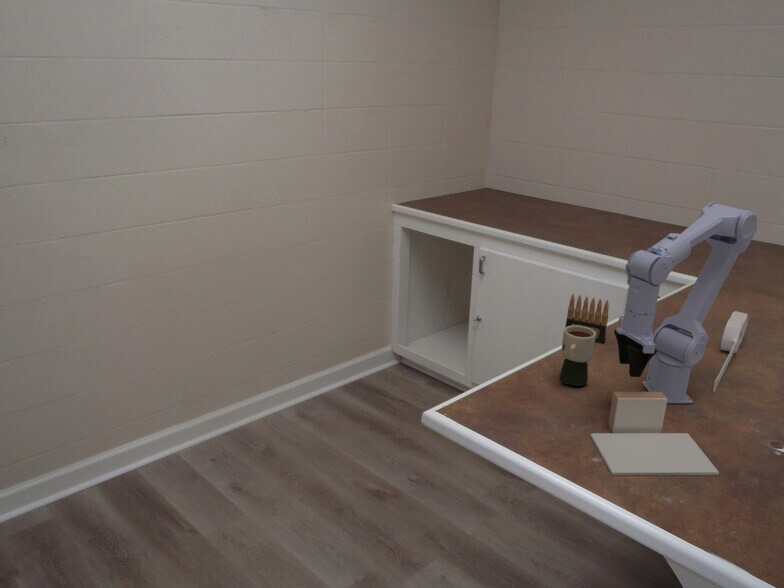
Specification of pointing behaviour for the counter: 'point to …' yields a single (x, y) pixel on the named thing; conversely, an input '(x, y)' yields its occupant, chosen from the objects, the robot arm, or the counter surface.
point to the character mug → (577, 354)
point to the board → (652, 454)
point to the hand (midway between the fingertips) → (629, 369)
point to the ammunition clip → (589, 317)
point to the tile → (637, 412)
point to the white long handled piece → (732, 338)
